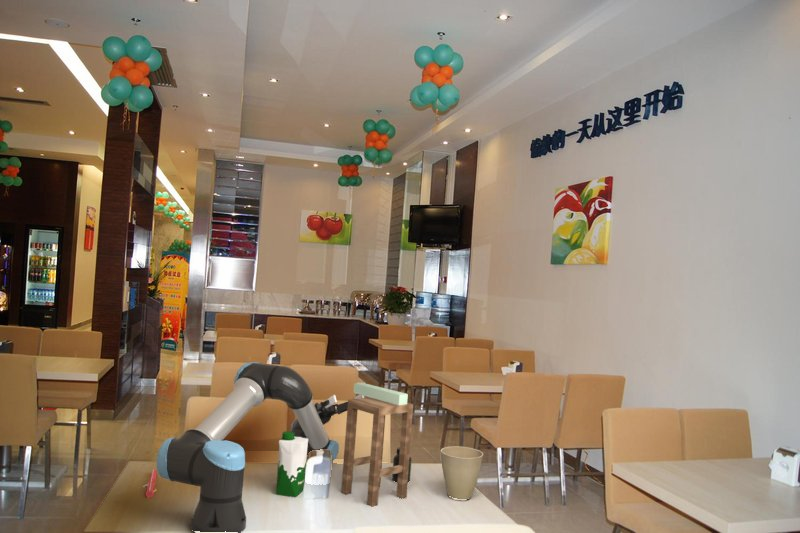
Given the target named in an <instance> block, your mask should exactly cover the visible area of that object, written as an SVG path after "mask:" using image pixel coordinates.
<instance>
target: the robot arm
mask: <svg viewBox="0 0 800 533" xmlns="http://www.w3.org/2000/svg"><path fill="white" fill-rule="evenodd" d="M233 381H234V382H233V390H232V391H231V392H230V393H228V395H227V396H226V397H225V398H224V399H223V400H222V401H221V402H220V403H219V404H218V405H217V406H216V407H215V408H214V409H213V410H212V411H211V412H210V413H209V414H208V415H207V416H206V417H205V419H203V421H202V422H200V423H199V425H198V426H196V428H189V429H187V430H185V432H184V433H183V434H181V435H180V436H179V437H178V438H177V437H169V438H166V439H165V440H164V441H163V442H162V444H161V445H160V446H159V448H158V452H157V454H156V455H157V457H156V461H155V462H156V463H155V464H156V471H157V473H158V474H159V476H160V477H161V478H162V479H165V480H168V481H170V482H175V483H176V482H177V483H181V484H184V485H185V484H187V485H191V486H195V487H196V486H197V487H200V490H199V492H200V493H199V499H198V503H197V505H196V507H195V510H194V513H193V515H192V517H191V522H190V530H191V531H192V530H193V531H200V532H225V531H226V532H240V531H242V532H243V531H244V530H245V529H246V527H247V516H246V511H245V507H244V503H243V487H244V476H245V467H246V451H245V450H244V448H243V446H241V445H240V444H239V443H237V442H234V441H230V440H224V439H225V438H226V437H227V436H228V435H229V434H230V433H231V431H233V429H234V428H235V427H236V426H237V425H238V424H239V422H241V420H242V419H243V418H244V417H245V416H246V415H247V414H248V412H250V410H251V409H253V407H258V406H260V405H262V404H263V402H264V401H265V400H267V399H269V400H270V399H271V400H275V401H276V400H279V401H282V402H284V403H286V406H287V407H288V408H289V409H290V410H292V411H293V413H294V415H295V418H296V419H295V420H294V421H293V422H292V423H291V425H290V431H291V432H294V437H302V438H307V439H308V447H307V455H308V453H309V452H310V451H312V450H320V449H328V450H330V451H331V456H332V460H331V461H334V460H335V459H337V457H338V454H339V450H340V444H339V442H338V441H337V440H334V439H330V438H329V435H328V432H327V431H326V428H325V427H324V425H325V424H328V423H329V422H330V420H331V419H332V416H333V417H334V415H342V414H343V413H345V412H347V408H348V401H346V402H343V403H339V404H338V400H337V396H336V394H332V395H331V396H330V397H328V398H327V399H325V400H324V401H321V402H320V403H319V402H316V403H314V401H313V398H314V396H313V392H312V389H311V387H310V385H309V384H308V382H307V381H306V380H305V379H304V378H303V376H302V375H300V374H299V373H298V372H297V371H296V370H294V369H292V368H291V367H288V366H285V365H277V364H276V365H275V364H270V363H269V364H268V363H263V362H259V361H258V362H257V361H256V362H247V363H246V362H245V363H243V365H241V366H240V367H239V369H237V371H236V375H235V376H234V380H233ZM357 398H365V396H363V395H360V394H357V395H356V396H355V397H352V399H357ZM240 533H241V532H240Z"/></svg>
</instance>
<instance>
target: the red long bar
mask: <svg viewBox="0 0 800 533" xmlns="http://www.w3.org/2000/svg"><path fill="white" fill-rule="evenodd" d="M157 473H158V470H157V469H154V468H153V469H152V471H151V474H150V478H149V479H150V480H149V481H148V483H146V484H145V485H143V486H142V487H143V488H146V487H145V486H147V489H146V493H145V495H146V498H147V499H148V498H150V497H152V498H154V494H155V492H157V488H155V486H156V478H157Z"/></svg>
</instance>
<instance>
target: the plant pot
mask: <svg viewBox="0 0 800 533" xmlns="http://www.w3.org/2000/svg"><path fill="white" fill-rule="evenodd" d="M483 457H484V452H482V451H481V450H479V449H476V448H473V447H468V446H445V447H443V448H441V449H440V459H441V468H442V473H443V479H444V483H445V487H446V491H447V494H448V497H449V496H451V497H453V498H457V499H468V498H470V499H471V497H472V495H473V493H474V490H475V487H476V485H477V481H478V479H479V474H480V472H481V467H482V462H483Z"/></svg>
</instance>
